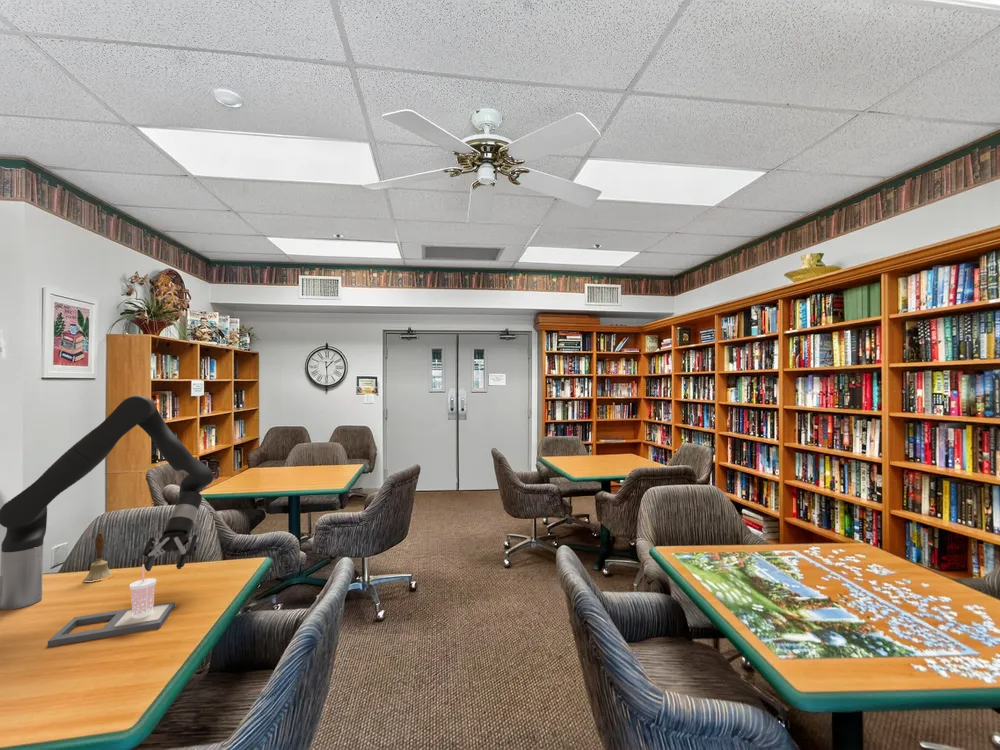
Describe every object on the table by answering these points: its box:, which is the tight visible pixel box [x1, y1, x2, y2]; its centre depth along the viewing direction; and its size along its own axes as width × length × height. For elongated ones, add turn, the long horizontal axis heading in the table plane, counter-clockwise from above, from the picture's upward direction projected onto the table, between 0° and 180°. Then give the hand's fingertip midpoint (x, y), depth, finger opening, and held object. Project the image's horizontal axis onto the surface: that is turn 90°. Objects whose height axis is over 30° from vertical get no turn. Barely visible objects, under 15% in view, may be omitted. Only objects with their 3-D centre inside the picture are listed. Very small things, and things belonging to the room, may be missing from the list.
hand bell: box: [83, 532, 113, 581], centre depth 165 cm, size 8×8×16 cm
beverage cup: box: [129, 563, 157, 618], centre depth 132 cm, size 6×6×14 cm
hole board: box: [47, 601, 176, 648], centre depth 129 cm, size 24×14×2 cm, turn 111°
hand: (163, 569), depth 143 cm, fingers open, 8 cm apart
